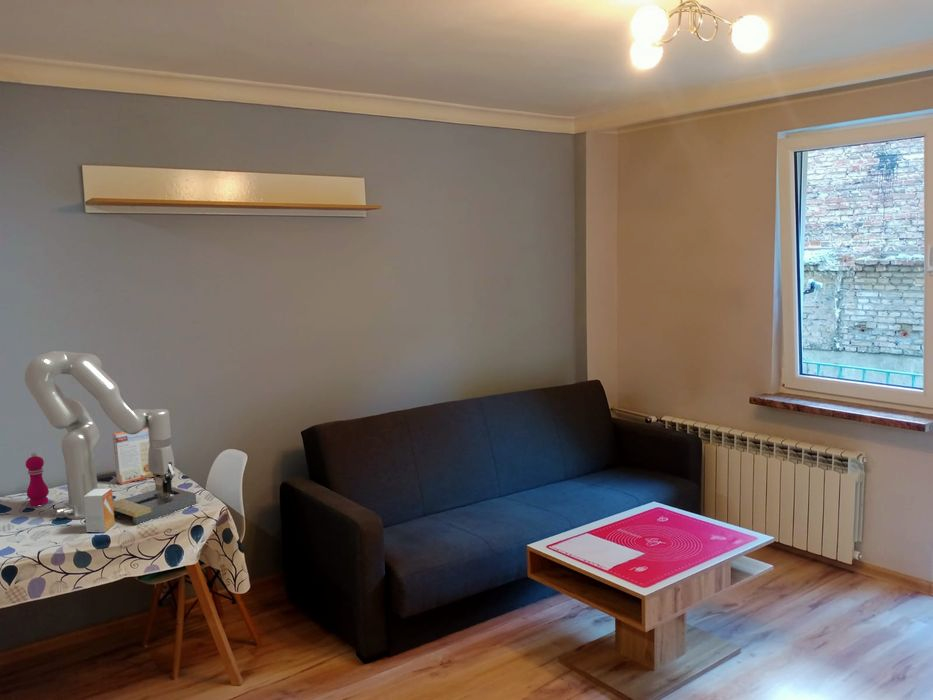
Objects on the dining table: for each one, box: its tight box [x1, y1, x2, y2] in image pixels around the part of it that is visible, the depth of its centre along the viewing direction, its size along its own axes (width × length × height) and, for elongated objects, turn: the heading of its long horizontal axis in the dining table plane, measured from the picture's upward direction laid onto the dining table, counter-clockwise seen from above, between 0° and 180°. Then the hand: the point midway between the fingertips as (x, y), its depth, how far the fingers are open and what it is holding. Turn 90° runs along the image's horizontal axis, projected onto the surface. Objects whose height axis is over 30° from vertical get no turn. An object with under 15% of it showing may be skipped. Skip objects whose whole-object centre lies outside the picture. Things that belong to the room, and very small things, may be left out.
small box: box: [84, 487, 116, 533], centre depth 252 cm, size 8×6×13 cm
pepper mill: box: [25, 452, 50, 507], centre depth 278 cm, size 7×7×20 cm
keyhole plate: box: [113, 486, 197, 526], centre depth 269 cm, size 24×18×4 cm
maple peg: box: [154, 475, 173, 498], centre depth 273 cm, size 5×5×11 cm
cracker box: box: [111, 428, 154, 485], centre depth 306 cm, size 14×6×21 cm, turn 130°
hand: (163, 490), depth 272 cm, fingers closed on maple peg, 4 cm apart
